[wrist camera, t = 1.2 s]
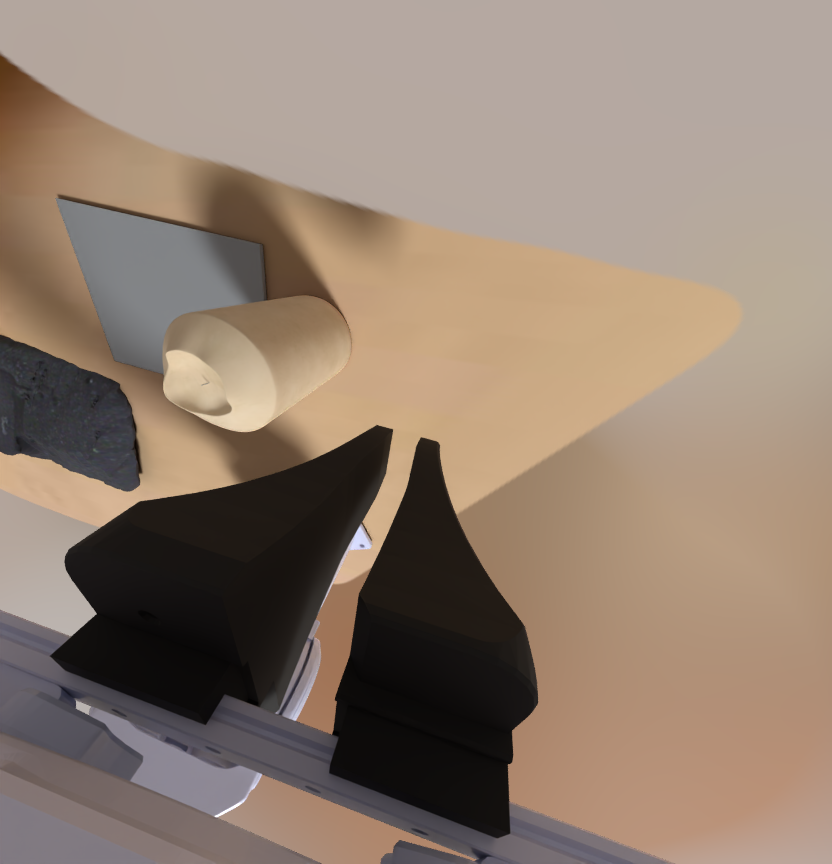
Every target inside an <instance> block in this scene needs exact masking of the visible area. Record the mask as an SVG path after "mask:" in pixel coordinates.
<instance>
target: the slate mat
mask: <svg viewBox="0 0 832 864" xmlns="http://www.w3.org/2000/svg"><path fill="white" fill-rule="evenodd" d="M55 199H56V201H57V204H58V207H59V210H60V212H61V215H62V218H63V221H64V223H65V226H66V229H67V232H68V234H69V237H70V240H71V243H72V245H73V248H74V251H75V253H76V256H77V259H78V262H79V264H80V267H81V270H82V273H83V275H84V278H85V281H86V284H87V286H88V289H89V292H90V295H91V297H92V300H93V303H94V306H95V308H96V311H97V314H98V317H99V319H100V322H101V325H102V327H103V330H104V333H105V336H106V338H107V341H108V344H109V347H110V349H111V352H112V355H113V358H114V360H115V361H117V362H121V363H125V364H128V365H132V366H135V367H139V368H143V369H146V370H150V371H153V372H157V373H161V374H164V369H163V359H162V356H163V342H164V337H165V333H166V330H167V329H168V327H169V325H170V324H171V323H172V321H173V320H174V319H176V318H177V317H179V316H181V315H183V314H186V313H190V312H196V311H203V310H209V309H215V308H222V307H228V306H235V305H241V304H247V303H254V302H260V301H267V296H266V283H265V270H264V257H263V244H258V243H254V242H249V241H245V240H241V239H236V238H232V237H227V236H223V235H219V234H214V233H210V232H205V231H201V230H196V229H192V228H188V227H183V226H179V225H174V224H170V223H166V222H161V221H157V220H152V219H148V218H143V217H139V216H135V215H130V214H126V213H121V212H117V211H112V210H108V209H104V208H99V207H95V206H90V205H86V204H82V203H77V202H73V201H68V200H64V199H59V198H55Z"/></svg>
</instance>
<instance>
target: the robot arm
mask: <svg viewBox="0 0 832 864" xmlns="http://www.w3.org/2000/svg"><path fill="white" fill-rule="evenodd" d="M392 434H393V429H389V428H386V427H382V426H378V425H376V426H375V427H373V428H371V429H369V430H368V431H366V432H364V433H362V434H361V435H359V436H357V437H356V438H354V439H352V440H350V441H349V442H347V443H345V444H343V445H341V446H340V447H338V448H336V449H334V450H332V451H330V452H328V453H326V454H323V455H321V456H319V457H317V458H315V459H313V460H310V461H308V462H306V463H303V464H301V465H298V466H295V467H293V468H290V469H287V470H284V471H281V472H278V473H275V474H271V475H268V476H265V477H261V478H258V479H255V480H251V481H248V482H244V483H240V484H236V485H231V486H227V487H222V488H218V489H213V490H208V491H203V492H198V493H192V494H186V495H180V496H173V497H167V498H160V499H154V500H147V501H140V502H138V503H137V504H135V505H134V506H132V507H131V508H129V509H128V510H126V511H125V512H123V513H122V514H120V515H119V516H117V517H116V518H114V519H113V520H111V521H110V522H108V523H107V524H105V525H104V526H102V527H101V528H100V529H98V530H97V531H95V532H94V533H92V534H91V535H89V536H88V537H86V538H85V539H83V540H82V541H80V542H79V543H77V544H76V545H75V546H73V547H72V548H70V549H69V550H68V552H67V554H66V556H65V567H66V571H67V572H68V574H69V576H70V577H71V579H72V581H73V582H74V583H75V585H76V586H77V587H78V589H79V590H80V591H81V593H82V594H83V595H84V597H85V598H86V600H87V601H88V602H89V603H90V605H91V606H92V608H93V609H94V610H95V612H96V613H97V615H95V616H94V617H93V618H92V619H91V620H89V621H88V622H87V623H86V624H85V625H84V626H83V627H82V628H80V629H79V630H78V631H77V632H76V633H75V634H74V635H73V636H68V635H65V634H63V633H60V632H58V631H55V630H52V629H50V628H47V627H44V626H41V625H39V624H36V623H34V622H31V621H28V620H26V619H23V618H20V617H18V616H15V615H12V614H10V613H7V612H4V611H2V610H0V864H321V863H319V862H317V861H315V860H312V859H310V858H308V857H305V856H303V855H301V854H299V853H297V852H294V851H292V850H290V849H288V848H285V847H283V846H281V845H278V844H276V843H274V842H272V841H270V840H267V839H265V838H263V837H261V836H258V835H256V834H254V833H252V832H249V831H247V830H244V829H242V828H240V827H238V826H235V825H233V824H230V823H228V822H226V821H224V820H221V819H219V818H217V817H219V816H220V815H222V814H224V813H226V812H228V811H230V810H232V809H234V808H235V807H237V806H239V805H240V804H242V803H243V802H244V801H245V800H246V798H247V796H248V794H249V792H250V791H251V790H252V789H254V788H255V787H256V785H257V783H258V781H259V780H260V778H261V776H262V774H263V775H266V776H268V777H271V778H273V779H275V780H278V781H281V782H283V783H286V784H288V785H291V786H293V787H296V788H298V789H301V790H303V791H306V792H308V793H311V794H313V795H316V796H318V797H321V798H323V799H326V800H328V801H331V802H333V803H336V804H338V805H341V806H344V807H346V808H349V809H351V810H354V811H356V812H359V813H361V814H364V815H366V816H369V817H371V818H374V819H376V820H379V821H381V822H384V823H386V824H389V825H391V826H394V827H396V828H399V829H402V830H404V831H406V832H409V833H412V834H414V835H416V836H419V837H421V838H424V839H427V840H429V841H432V842H434V843H437V844H439V845H442V846H444V847H447V848H449V849H452V850H454V851H457V852H459V853H462V854H464V855H467V856H469V857H472V858H474V859H477V860H476V861H472V860H469V859H466V858H463V857H460V856H456V855H453V854H449V853H445V852H442V851H438V850H434V849H431V848H427V847H423V846H420V845H416V844H412V843H408V842H405V841H401V840H399V842H397V843H396V845H395V846H394V849H393V853H388V854H385V855H384V856H383V858H382V859H381V864H674V863H671V862H669V861H666V860H664V859H661V858H658V857H656V856H653V855H651V854H648V853H645V852H643V851H639V850H637V849H635V848H632V847H629V846H626V845H624V844H621V843H619V842H616V841H613V840H611V839H608V838H605V837H603V836H600V835H597V834H595V833H592V832H589V831H587V830H584V829H581V828H579V827H576V826H573V825H571V824H568V823H565V822H563V821H560V820H557V819H555V818H552V817H549V816H547V815H544V814H542V813H539V812H536V811H533V810H530V809H528V808H526V807H523V806H520V805H517V804H515V803H512V802H510V801H509V785H508V764H510V763H512V760H513V744H512V730H513V729H514V728H515V727H517V726H518V725H519V724H520V723H521V722H522V721H523V720H525V719H526V718H527V717H528V716H529V715H530V714H531V713H532V711H533V710H534V709H535V707H536V706H537V704H538V691H537V680H536V673H535V667H534V663H533V658H532V654H531V649H530V645H529V641H528V637H527V633H526V630H525V626H524V625H523V623H522V622H521V620H520V619H519V618H518V616H517V615H516V614H515V612H514V611H513V610H512V608H511V607H510V606H509V604H508V603H507V602H506V601H505V599H504V598H503V596H502V595H501V594H500V592H499V591H498V590H497V588H496V587H495V585H494V583H493V582H492V580H491V579H490V577H489V576H488V574H487V573H486V571H485V570H484V568H483V566H482V565H481V563H480V561H479V559H478V557H477V556H476V554H475V552H474V550H473V549H472V547H471V545H470V543H469V542H468V540H467V538H466V536H465V533H464V531H463V529H462V527H461V525H460V523H459V521H458V518H457V516H456V514H455V511H454V508H453V506H452V503H451V500H450V497H449V494H448V491H447V488H446V484H445V480H444V476H443V472H442V467H441V460H440V445H439V443H438V442H437V441H433V440H429V439H426V438H422V437H421V438H420V440H419V442H418V444H417V446H416V451H415V455H414V460H413V464H412V469H411V473H410V477H409V482H408V486H407V489H406V492H405V494H404V497H403V499H402V501H401V504H400V506H399V509H398V511H397V513H396V516H395V518H394V520H393V523H392V525H391V527H390V530H389V532H388V534H387V536H386V539H385V541H384V543H383V545H382V547H381V550H380V552H379V554H378V556H377V558H376V560H375V562H374V564H373V566H372V568H371V571H370V573H369V575H368V577H367V579H366V581H365V583H364V585H363V587H362V589H361V591H360V593H359V597H358V605H357V611H356V618H355V625H354V632H353V638H352V645H351V652H350V656H349V659H348V662H347V665H346V668H345V671H344V673H343V676H342V679H341V682H340V685H339V688H338V691H337V694H336V697H335V701H337V705H336V714H335V723H334V730H333V733H332V735H331V734H328V733H326V732H323V731H321V730H318V729H315V728H313V727H310V726H307V725H304V724H302V723H300V722H297V721H296V719H297V717H298V715H299V713H300V712H301V710H302V707H303V706H304V704H305V702H306V700H307V697H308V695H309V693H310V691H311V688H312V686H313V683H314V681H315V678H316V675H317V672H318V669H319V665H320V660H321V651H320V641H319V640H318V639H317V638H315V637H314V634H315V632H316V630H317V628H318V626H319V624H320V622H319V621H317V620H316V617H317V615H318V613H319V611H320V609H321V607H322V605H323V603H324V601H325V598H326V597H327V594H328V592H329V590H330V588H331V586H332V584H333V582H334V580H335V578H336V576H337V574H338V572H339V570H340V568H341V566H342V564H343V562H344V560H345V558H346V556H347V554H348V551H349V550H359V549H370V548H371V546H372V542H371V540H370V538H369V536H368V535H367V533H366V531H365V529H364V527H363V525H362V524H361V523H362V521H363V519H364V518H365V516H366V514H367V512H368V511H369V509H370V507H371V505H372V503H373V502H374V500H375V498H376V496H377V494H378V491H379V489H380V487H381V484H382V482H383V479H384V477H385V474H386V469H387V463H388V457H389V451H390V445H391V440H392ZM75 700H77V701H79V702H82V703H84V704H87V705H89V706H91V708H90V711H89V715H87V714H85V713H83V712H81V711H79V710H77V709H75V708H76V701H75Z"/></svg>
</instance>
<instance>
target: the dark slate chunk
mask: <svg viewBox="0 0 832 864" xmlns="http://www.w3.org/2000/svg"><path fill="white" fill-rule="evenodd" d="M135 437H136V435H135V429H134V425H133V418H132V409H131V406H130V405H129V403H128V401H127V398H126V396H125V395H124V393H123V392H122V391H121V390H120V384H118V383H117V382H115V381H113V380H111V379H108V378H106V377H104V376H102V375H100V374H98V373H95V372H91V371H87V370H84V369H81V368H79V367H77V366H76V365H74V364H72V363H69V362H67V361H65V360H63V359H60V358H56V357H54V356H52V355H50V354H48V353H46V352H43V351H41V350H39V349H37V348H35V347H31V346H28V345H27V344H24V343H20V342H15V341H14V340H12V339H11V338H7V337H4V336H2V335H0V452H2V453H4V454H7V455H16V454H25V455H29V456H31V457H37V458H41V459H49V460H52V461H54V462H55V463H57V464H60V465H62V467H63V468H66V469H68V470H69V471H72V472H77V473H79V474H83V475H85V476H87V477H89V478H94V479H98V480H101V481H104V483H105V484H107V485H110V486H112V487H114V488H117V489H121V490H123V491H132V490H134V489H136V488H137V487H138V486H139V485H140V478H139V473H138V462H137V459H136V455H137V454H136V451H135V447H134V441H135Z"/></svg>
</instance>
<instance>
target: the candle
mask: <svg viewBox="0 0 832 864" xmlns="http://www.w3.org/2000/svg"><path fill="white" fill-rule="evenodd" d="M351 349H352V340H351V334H350V331H349V328H348V325H347V323H346V321H345V320H344V318H343V316H342V315H341V314H340V313H339V311H338V310H337V309H336V308H335V307H334V306H332V305H331V304H330V303H328V302H327V301H325V300H323V299H321V298H318V297H314V296H308V295H301V296H292V297H286V298H280V299H273V300H267V301H260V302H254V303H247V304H241V305H235V306H228V307H222V308H215V309H209V310H203V311H196V312H190V313H186V314H183V315H181V316H179V317H177V318H176V319H174V320H173V321H172V323H171V324H170V325H169V327H168V329H167V330H166V333H165V337H164V342H163V356H162V359H163V369H164V380H163V391H164V394H165V396H166V397H167V398H168V400H170V401H171V402H172V403H173V404H175V405H177V406H178V407H180V408H182V409H184V410H186V411H188V412H191V413H193V414H195V415H197V416H198V417H200V418H202V419H204V420H206V421H208V422H210V423H212V424H214V425H217V426H219V427H222V428H225V429H228V430H232V431H237V432H251V431H255V430H258V429H260V428H262V427H264V426H265V425H267V424H268V423H269V422H271V421H272V420H274V419H275V418H276V417H278V416H279V415H281V414H282V413H283V412H285V411H286V410H288V409H289V408H290V407H292V406H293V405H295V404H296V403H297V402H299V401H300V400H302V399H303V398H304V397H306V396H307V395H309V394H310V393H311V392H313V391H314V390H316V389H317V388H318V387H320V386H321V385H322V384H324V383H325V382H327V381H328V380H329V379H331V378H332V377H334V376H335V375H336V374H338V373H339V372H340V371H341V370H342V369H343V368H344V367H345V365H346V364H347V362H348V360H349V358H350V355H351Z"/></svg>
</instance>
